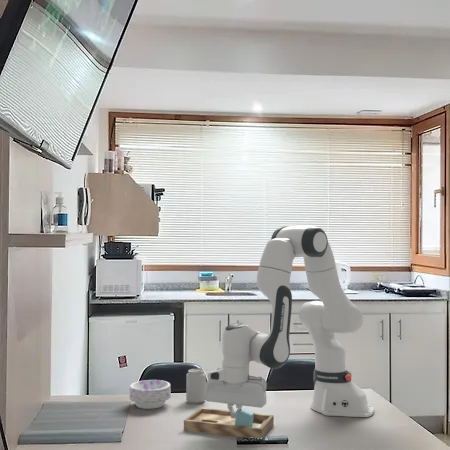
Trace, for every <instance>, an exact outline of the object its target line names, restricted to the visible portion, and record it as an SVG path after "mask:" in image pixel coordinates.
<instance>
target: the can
mask: <svg viewBox="0 0 450 450" xmlns="http://www.w3.org/2000/svg"><path fill="white" fill-rule="evenodd" d="M185 381H186V387H185V388H186V389H185V390H186V391H185V392H186V399H185V400H186V401H187V402H188V403H189V404H193V405H195V404H196V405H198V404H202V403H205V401H206V400H205V398H204V393H205V385H206V382H207V373H205V370H204V369H202V368H191V369H188V371H187V373H186V380H185Z"/></svg>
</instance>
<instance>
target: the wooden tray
mask: <svg viewBox="0 0 450 450" xmlns="http://www.w3.org/2000/svg"><path fill="white" fill-rule="evenodd" d="M236 411H237V410H234V412H236ZM274 417H275V416H274V415H273V414H263V413H254V418H253V424H252V427H247V426H239V425H235V420H236V419H234V418H231V413H230V411H229V410H227V409H216V408H207V407H200V408H198V410H196V411H194V412H193V413H192V414H190V415H189V416H188V417H186V418H185V419H183V430H184V431H186V432H188V431H189V432H193V433H194V432H195V433H203V434H212V435H219V436H226V437H228V436H229V437H237V438H243V437H253V438H262V437H263V436H264V437H265V436H266V435H267V434H268V432H269V431H270V430H271V429H272V428H273V427H274V426H275V425H274V421H275V419H274ZM264 437H263V438H264Z"/></svg>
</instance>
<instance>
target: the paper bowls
mask: <svg viewBox="0 0 450 450" xmlns="http://www.w3.org/2000/svg"><path fill="white" fill-rule="evenodd" d="M171 390H172V389H171V383H170V382H168V381H166V380H162V379H161V380H160V379H148V380H147V379H145V380H138V381H135V382H132V383H131V384H130V385H129V400H130V401H132V402H134V404H135V406H136V407H137V408H139V409H144V410H154V409H159V408H161V407H163V406H164V405H165V403H166V401H167V400H169V399H171V396H172V395H171V394H172V393H171V392H172V391H171Z"/></svg>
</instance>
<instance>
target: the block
mask: <svg viewBox="0 0 450 450" xmlns="http://www.w3.org/2000/svg"><path fill="white" fill-rule="evenodd" d="M254 413H255V412H254V411H253V410H252V411H251V410H248V409H245V408H243V407H242V408H241V409H240V410H239V411H238V412H237V414H236V420H235V425H239V426H247V427H252V424H253V418H254Z"/></svg>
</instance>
